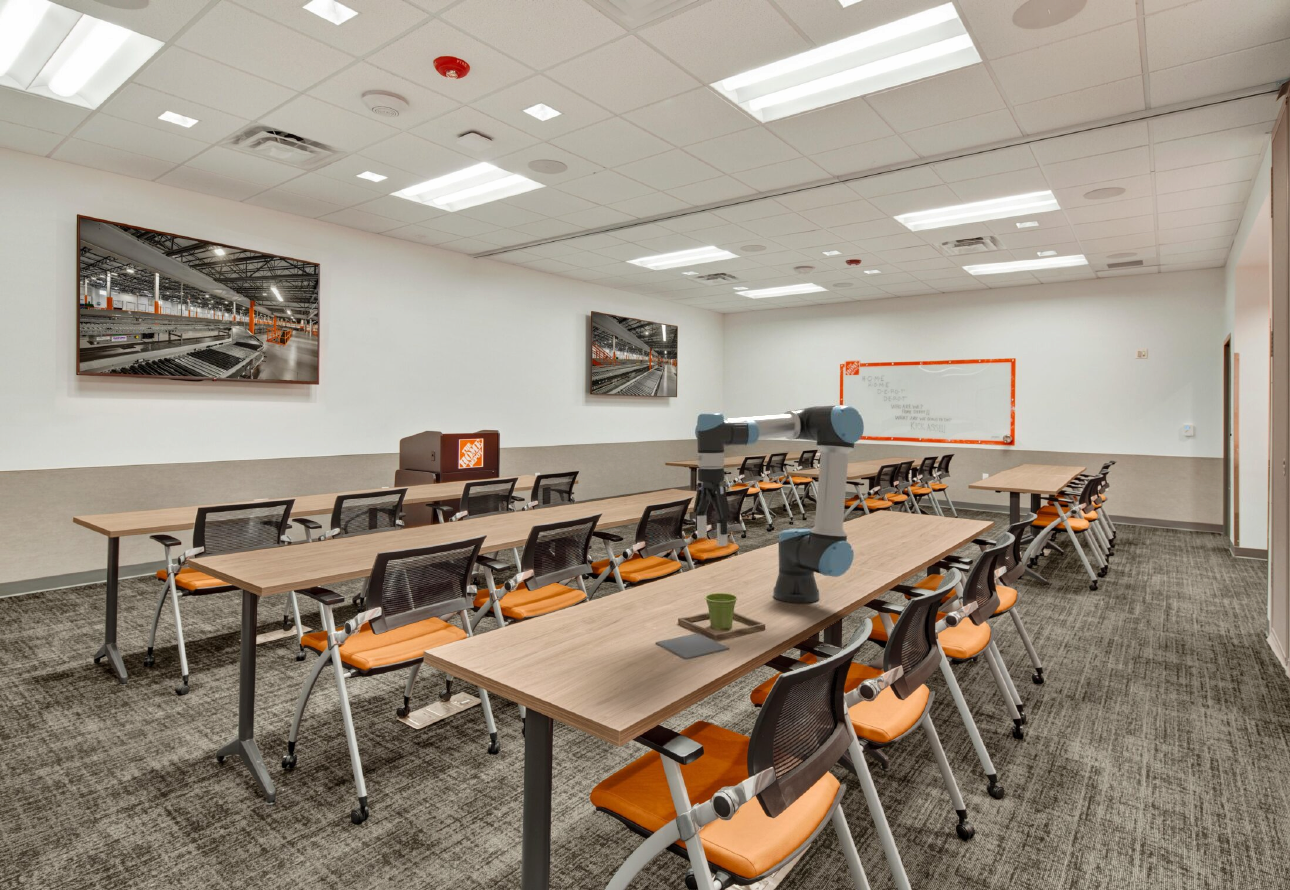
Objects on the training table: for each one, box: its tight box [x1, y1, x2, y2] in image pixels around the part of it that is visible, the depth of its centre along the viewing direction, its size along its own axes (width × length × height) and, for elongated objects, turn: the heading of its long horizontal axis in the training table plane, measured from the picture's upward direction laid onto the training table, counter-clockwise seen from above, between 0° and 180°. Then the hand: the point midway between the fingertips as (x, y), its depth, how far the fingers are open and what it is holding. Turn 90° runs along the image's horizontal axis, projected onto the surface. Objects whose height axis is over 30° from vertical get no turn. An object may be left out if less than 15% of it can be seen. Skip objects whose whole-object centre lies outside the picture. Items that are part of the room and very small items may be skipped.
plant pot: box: [704, 592, 738, 630], centre depth 189 cm, size 9×9×9 cm
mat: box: [655, 632, 730, 661], centre depth 173 cm, size 14×14×1 cm
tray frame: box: [677, 611, 766, 642], centre depth 190 cm, size 18×18×2 cm
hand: (711, 541), depth 186 cm, fingers open, 13 cm apart
